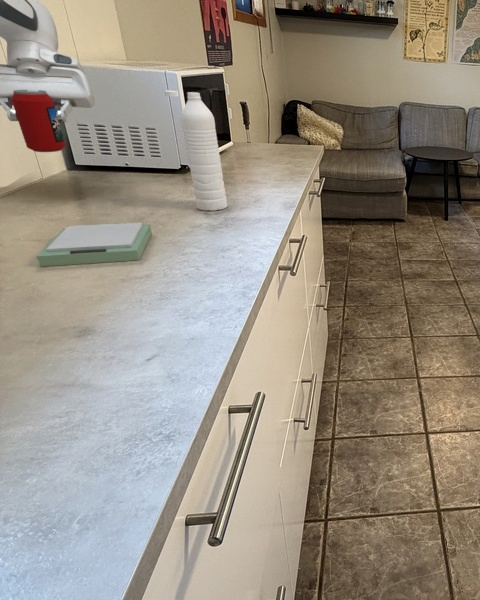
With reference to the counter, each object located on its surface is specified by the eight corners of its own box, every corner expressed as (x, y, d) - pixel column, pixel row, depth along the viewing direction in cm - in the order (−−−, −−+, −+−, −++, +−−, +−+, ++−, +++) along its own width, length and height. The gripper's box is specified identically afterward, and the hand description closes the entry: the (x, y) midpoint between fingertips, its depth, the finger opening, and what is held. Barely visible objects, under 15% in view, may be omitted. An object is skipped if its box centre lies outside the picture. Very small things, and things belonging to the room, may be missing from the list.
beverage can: (73, 150, 105) (56, 92, 100) (37, 154, 100) (17, 93, 94) (57, 146, 108) (41, 89, 102) (21, 149, 103) (2, 89, 97)
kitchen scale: (40, 266, 77) (35, 252, 76) (66, 237, 89) (62, 225, 88) (139, 260, 82) (135, 246, 81) (151, 233, 94) (149, 221, 93)
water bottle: (229, 203, 114) (213, 91, 103) (224, 211, 109) (206, 94, 97) (190, 203, 113) (169, 89, 101) (183, 211, 107) (159, 91, 95)
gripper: (-36, 51, 96) (-35, 108, 93) (85, 59, 105) (90, 111, 102) (-21, 74, 102) (-19, 128, 99) (94, 79, 111) (99, 129, 108)
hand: (38, 119), depth 100 cm, fingers closed on beverage can, 7 cm apart
